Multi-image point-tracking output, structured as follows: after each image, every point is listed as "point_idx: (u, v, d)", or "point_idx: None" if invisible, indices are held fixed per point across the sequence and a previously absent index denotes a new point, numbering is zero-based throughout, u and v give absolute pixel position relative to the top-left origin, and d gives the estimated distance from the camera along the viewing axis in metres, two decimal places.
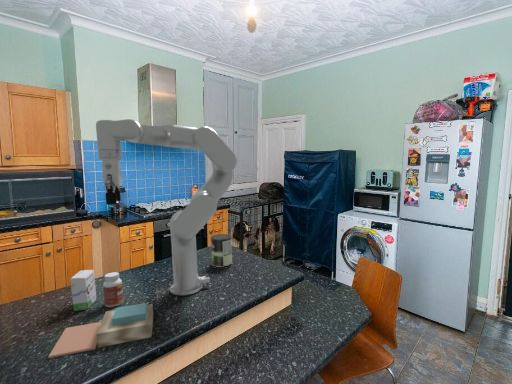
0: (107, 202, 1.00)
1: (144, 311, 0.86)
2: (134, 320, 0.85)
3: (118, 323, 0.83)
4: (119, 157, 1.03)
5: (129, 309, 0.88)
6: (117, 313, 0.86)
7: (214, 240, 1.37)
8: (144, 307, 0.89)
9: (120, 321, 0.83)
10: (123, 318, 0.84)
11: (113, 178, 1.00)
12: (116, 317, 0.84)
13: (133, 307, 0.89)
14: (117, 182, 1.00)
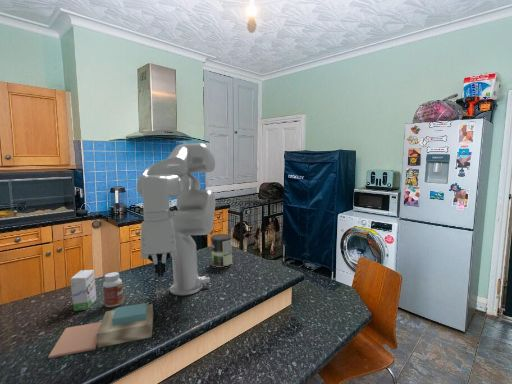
0: None
1: (144, 311, 0.86)
2: (134, 320, 0.85)
3: (118, 323, 0.83)
4: None
5: (129, 309, 0.88)
6: (117, 313, 0.86)
7: (214, 240, 1.37)
8: (144, 307, 0.89)
9: (120, 321, 0.83)
10: (123, 318, 0.84)
11: None
12: (116, 317, 0.84)
13: (133, 307, 0.89)
14: None
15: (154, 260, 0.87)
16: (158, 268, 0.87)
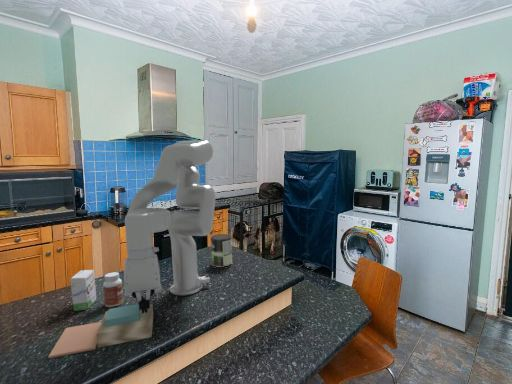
0: (147, 310, 0.88)
1: (137, 312, 0.86)
2: (127, 321, 0.84)
3: (111, 324, 0.83)
4: None
5: (122, 311, 0.87)
6: (110, 315, 0.85)
7: (214, 240, 1.37)
8: (137, 308, 0.88)
9: (113, 322, 0.83)
10: (116, 320, 0.83)
11: None
12: (109, 318, 0.83)
13: (126, 308, 0.89)
14: None
15: (138, 297, 0.86)
16: (142, 305, 0.87)
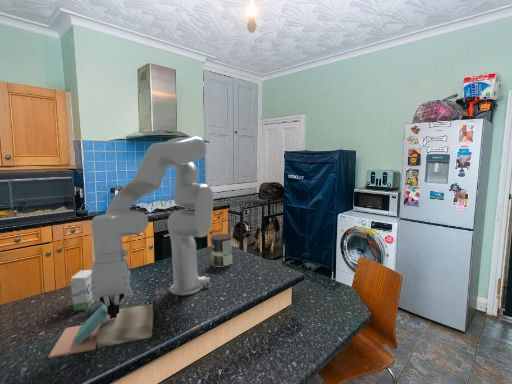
0: (116, 315, 0.85)
1: (99, 313, 0.82)
2: (95, 326, 0.81)
3: (83, 339, 0.80)
4: None
5: (88, 321, 0.84)
6: (79, 332, 0.82)
7: (214, 240, 1.37)
8: (100, 309, 0.85)
9: (83, 336, 0.80)
10: (84, 333, 0.80)
11: None
12: (78, 336, 0.80)
13: (92, 316, 0.85)
14: None
15: (106, 302, 0.84)
16: (110, 310, 0.84)
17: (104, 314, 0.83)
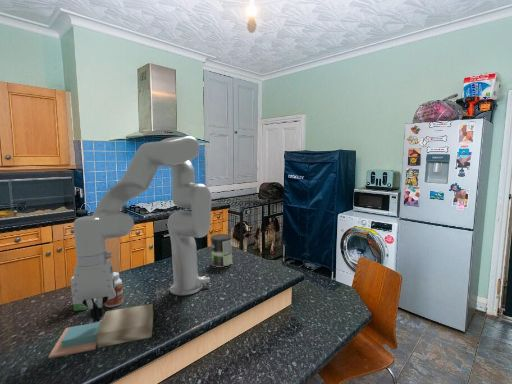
0: (99, 318, 0.84)
1: None
2: (86, 341, 0.81)
3: (68, 345, 0.79)
4: None
5: (82, 330, 0.84)
6: (68, 334, 0.81)
7: (214, 240, 1.37)
8: None
9: (71, 343, 0.79)
10: (74, 340, 0.79)
11: (114, 282, 0.86)
12: (67, 339, 0.79)
13: (87, 326, 0.85)
14: None
15: (89, 305, 0.83)
16: (93, 313, 0.83)
17: None
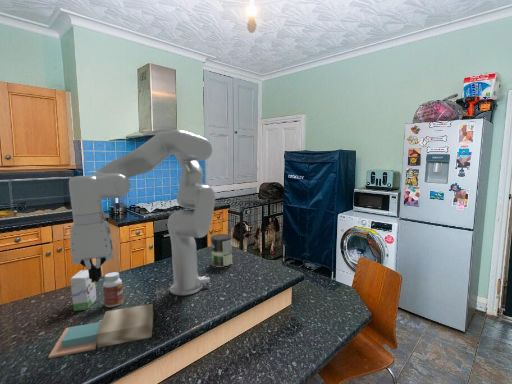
0: (97, 279, 0.83)
1: None
2: (86, 341, 0.81)
3: (68, 345, 0.79)
4: None
5: (82, 330, 0.84)
6: (68, 334, 0.81)
7: (214, 240, 1.37)
8: None
9: (71, 343, 0.79)
10: (74, 340, 0.79)
11: (112, 243, 0.86)
12: (67, 339, 0.79)
13: (87, 326, 0.85)
14: None
15: (87, 265, 0.82)
16: (92, 273, 0.82)
17: None
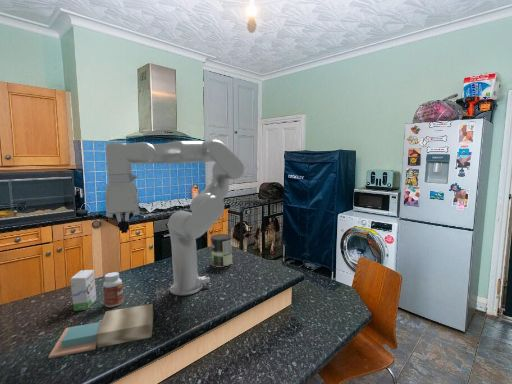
0: (126, 230, 0.98)
1: None
2: (86, 341, 0.81)
3: (68, 345, 0.79)
4: None
5: (82, 330, 0.84)
6: (68, 334, 0.81)
7: (214, 240, 1.37)
8: None
9: (71, 343, 0.79)
10: (74, 340, 0.79)
11: (138, 201, 1.01)
12: (67, 339, 0.79)
13: (87, 326, 0.85)
14: None
15: (118, 218, 0.97)
16: (122, 225, 0.98)
17: None
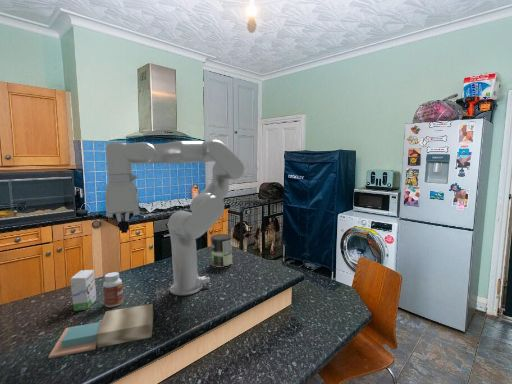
0: (126, 230, 0.98)
1: None
2: (86, 341, 0.81)
3: (68, 345, 0.79)
4: None
5: (82, 330, 0.84)
6: (68, 334, 0.81)
7: (214, 240, 1.37)
8: None
9: (71, 343, 0.79)
10: (74, 340, 0.79)
11: (138, 201, 1.01)
12: (67, 339, 0.79)
13: (87, 326, 0.85)
14: None
15: (118, 218, 0.97)
16: (122, 225, 0.98)
17: None
